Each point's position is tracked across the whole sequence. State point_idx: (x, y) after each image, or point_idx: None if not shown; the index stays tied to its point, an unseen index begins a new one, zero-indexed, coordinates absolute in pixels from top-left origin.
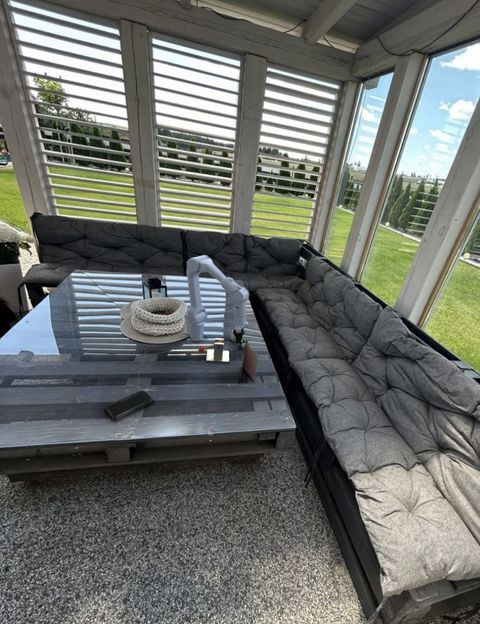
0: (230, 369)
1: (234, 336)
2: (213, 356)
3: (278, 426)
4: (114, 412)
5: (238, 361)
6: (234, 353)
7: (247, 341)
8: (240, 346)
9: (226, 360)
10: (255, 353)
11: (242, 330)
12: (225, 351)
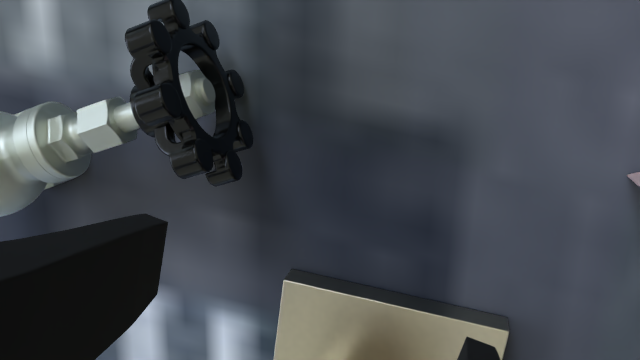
0: (636, 328)
1: (18, 186)
2: None
3: None
4: None
5: (477, 191)
6: (302, 202)
7: (157, 30)
8: (226, 137)
9: None
10: None
11: (73, 270)
12: (291, 321)
